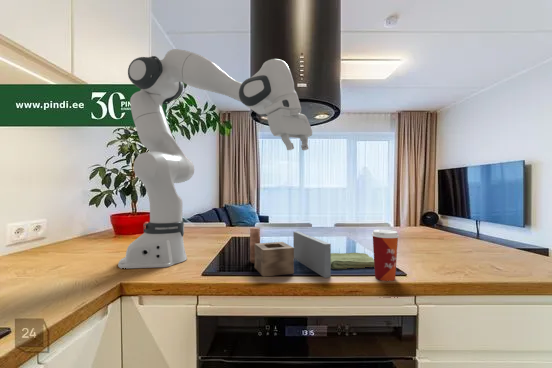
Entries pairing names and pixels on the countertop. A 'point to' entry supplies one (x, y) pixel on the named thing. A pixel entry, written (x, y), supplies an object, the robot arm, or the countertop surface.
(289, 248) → the block
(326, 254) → the wall
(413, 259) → the countertop surface
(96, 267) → the countertop surface
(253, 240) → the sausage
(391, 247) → the paper cup
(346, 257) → the washcloth
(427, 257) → the countertop surface
